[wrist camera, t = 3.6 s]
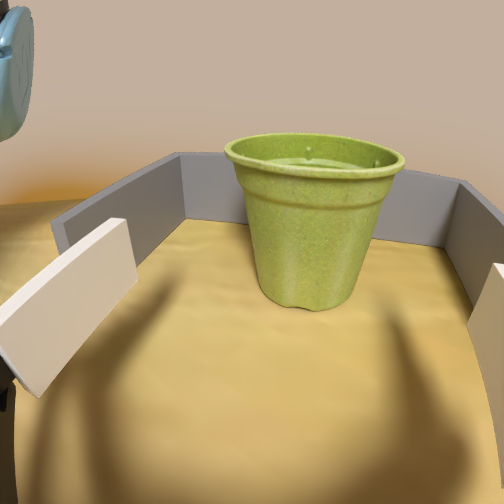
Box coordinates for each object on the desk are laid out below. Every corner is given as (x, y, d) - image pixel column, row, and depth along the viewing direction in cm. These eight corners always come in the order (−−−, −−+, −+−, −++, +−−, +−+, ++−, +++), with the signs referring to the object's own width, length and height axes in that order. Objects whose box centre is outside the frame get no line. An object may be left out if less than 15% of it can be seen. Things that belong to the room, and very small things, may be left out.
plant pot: (291, 362, 14) (307, 180, 10) (206, 270, 21) (196, 140, 17) (404, 293, 18) (435, 161, 14) (312, 235, 25) (319, 129, 21)
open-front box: (79, 308, 17) (50, 221, 14) (180, 212, 30) (174, 152, 27) (512, 372, 11) (563, 283, 8) (451, 243, 24) (466, 180, 21)
